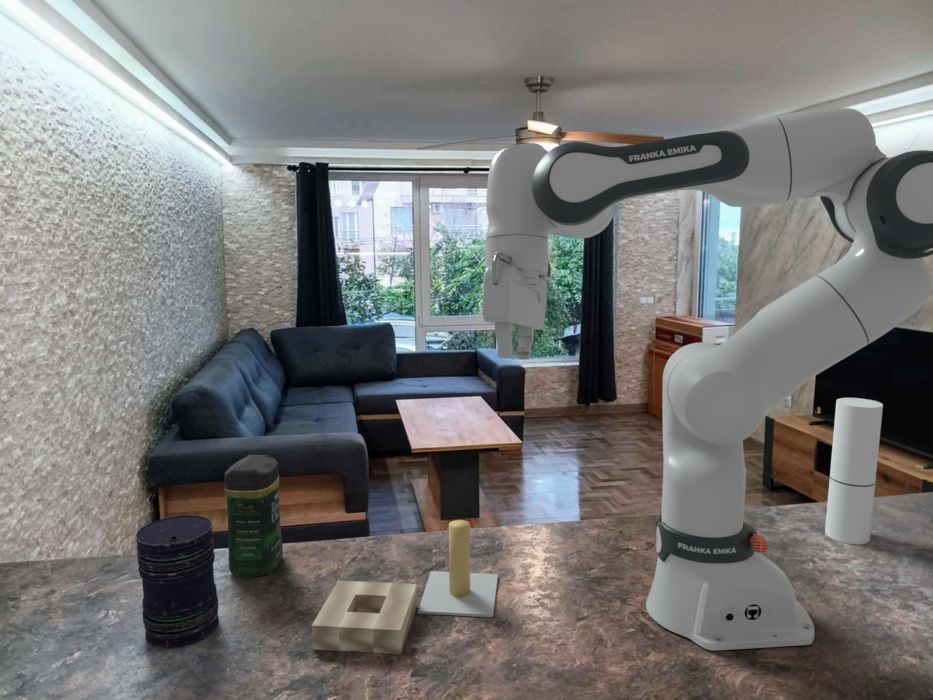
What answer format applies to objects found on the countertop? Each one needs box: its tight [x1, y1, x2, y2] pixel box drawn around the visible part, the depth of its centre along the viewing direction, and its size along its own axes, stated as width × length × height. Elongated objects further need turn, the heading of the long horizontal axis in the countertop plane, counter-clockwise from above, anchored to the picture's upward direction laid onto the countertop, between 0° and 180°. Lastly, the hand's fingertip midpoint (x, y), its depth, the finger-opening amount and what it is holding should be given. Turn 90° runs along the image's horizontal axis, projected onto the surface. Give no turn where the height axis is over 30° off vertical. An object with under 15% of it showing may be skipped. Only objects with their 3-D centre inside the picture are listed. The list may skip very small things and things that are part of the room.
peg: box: [448, 519, 471, 597], centre depth 104 cm, size 3×3×11 cm
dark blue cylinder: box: [135, 514, 220, 650], centre depth 95 cm, size 10×10×15 cm
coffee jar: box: [223, 454, 284, 578], centre depth 113 cm, size 10×8×19 cm
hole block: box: [311, 580, 418, 655], centre depth 97 cm, size 12×12×4 cm
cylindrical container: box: [824, 397, 884, 546], centre depth 123 cm, size 7×7×25 cm
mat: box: [417, 570, 499, 618], centre depth 105 cm, size 11×12×1 cm
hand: (515, 358), depth 96 cm, fingers open, 8 cm apart
